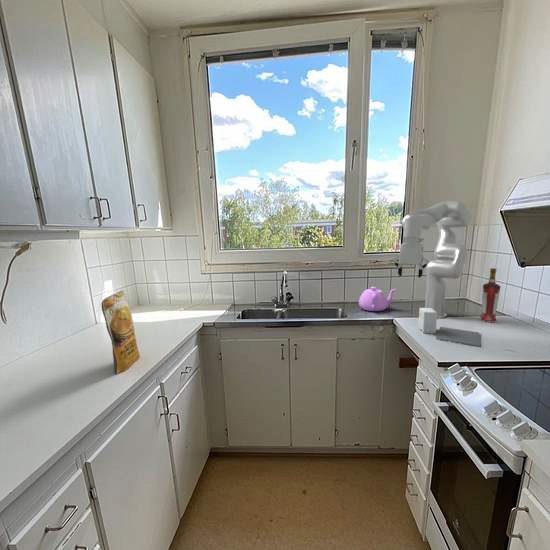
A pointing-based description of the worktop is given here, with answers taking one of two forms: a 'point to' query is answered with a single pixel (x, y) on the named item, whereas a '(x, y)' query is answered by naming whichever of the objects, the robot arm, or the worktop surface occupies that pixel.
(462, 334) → the mat
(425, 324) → the small box
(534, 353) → the worktop surface
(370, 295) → the teapot
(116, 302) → the pancake mix bag
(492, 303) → the liquor
